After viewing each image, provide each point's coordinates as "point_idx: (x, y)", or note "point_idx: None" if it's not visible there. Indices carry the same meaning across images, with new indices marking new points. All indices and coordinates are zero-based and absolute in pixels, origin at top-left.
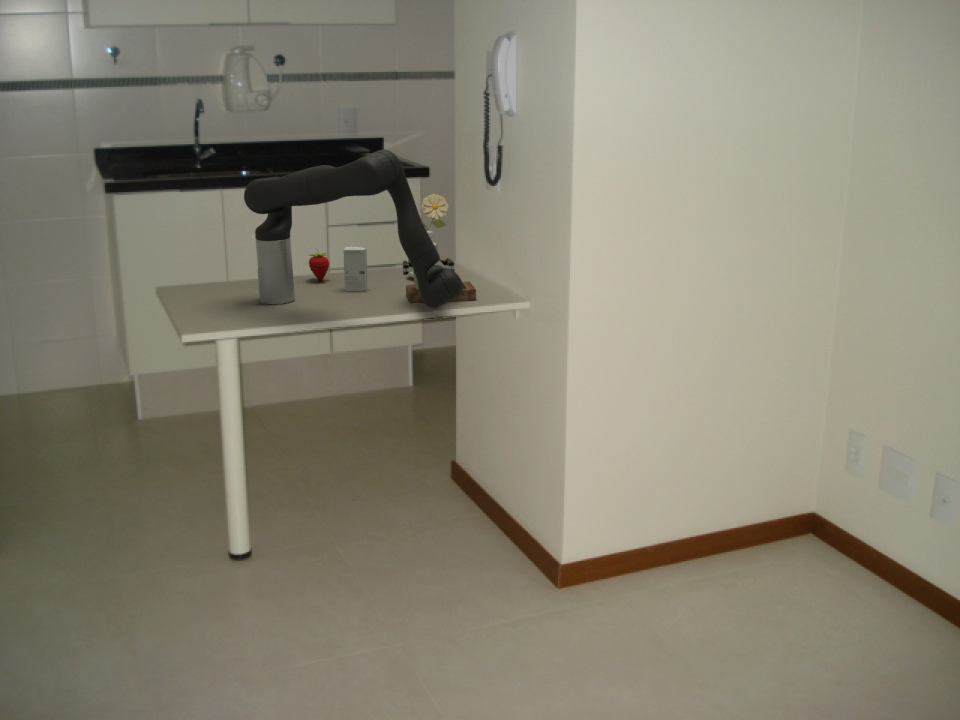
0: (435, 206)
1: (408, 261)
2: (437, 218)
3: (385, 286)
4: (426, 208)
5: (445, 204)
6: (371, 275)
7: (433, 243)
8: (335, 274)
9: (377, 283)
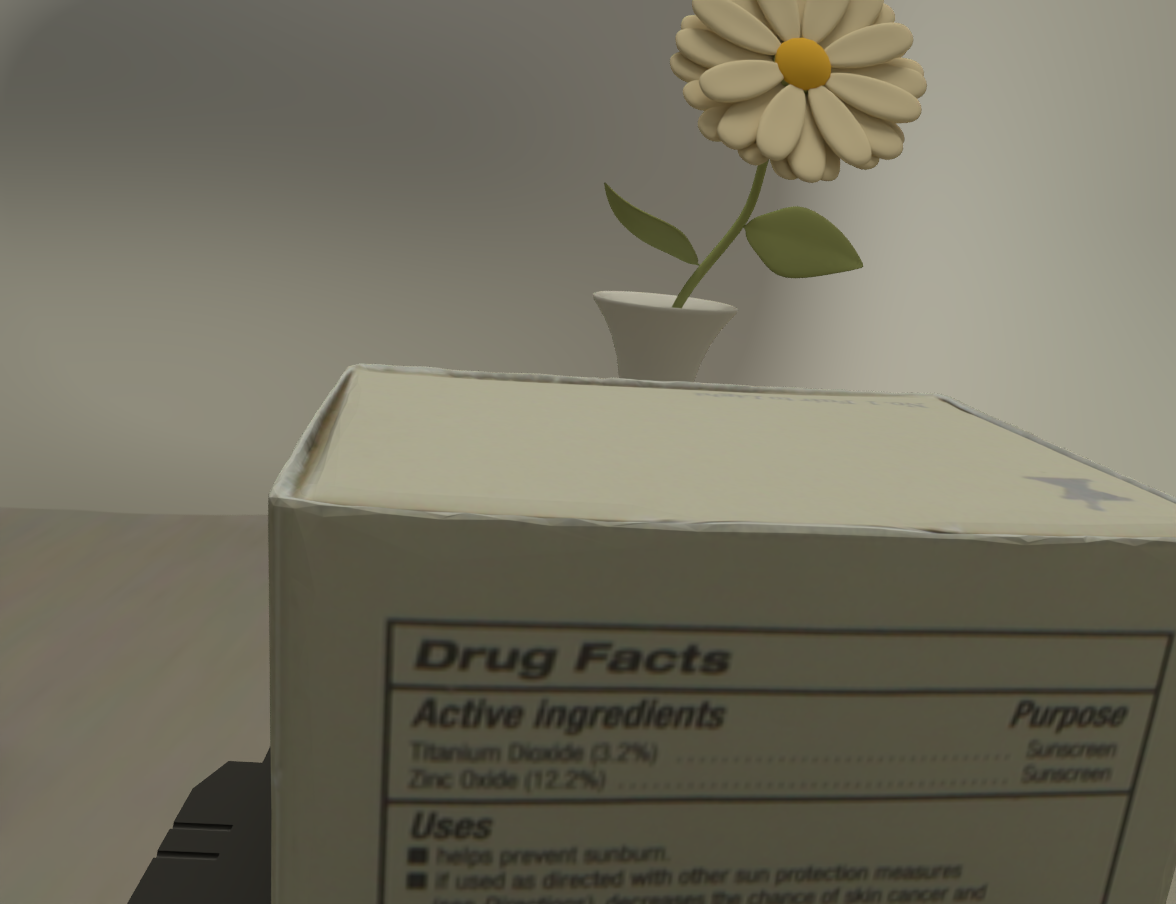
0: (809, 58)
1: (177, 845)
2: (816, 170)
3: (201, 775)
4: (720, 63)
5: (897, 64)
6: (252, 566)
7: (998, 440)
8: (45, 518)
9: (184, 694)
